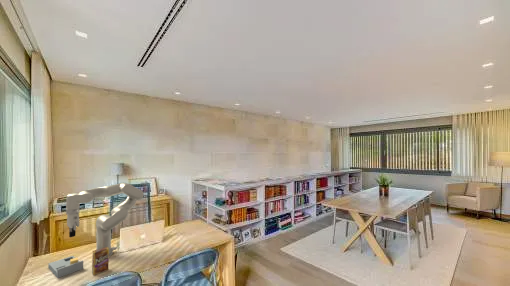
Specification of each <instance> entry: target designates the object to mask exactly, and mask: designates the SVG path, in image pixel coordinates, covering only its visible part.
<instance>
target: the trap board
mask: <svg viewBox="0 0 510 286" xmlns="http://www.w3.org/2000/svg"><path fill="white" fill-rule="evenodd" d="M73 258H76V257H75V256H74V255H70V256H67V257H64V258H61V259H58V260H55V261H52V262H49V263H47V265H48V266H47V267H48V268H47V269H49V271H51V272H52V274H53V275H54V276H55V277H56V279H59V278H61V277H64V276H67V275H70V274H72V273H76V272H78V271H80V270H84V260H79V259H78V262H77V263H74V264H71V265H70V259H73Z"/></svg>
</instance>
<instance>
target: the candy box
mask: <svg viewBox="0 0 510 286" xmlns="http://www.w3.org/2000/svg"><path fill="white" fill-rule="evenodd" d="M109 259H110V256H109V248H108V247H105V248H102V249H98V250H92V260H91V261H92V262H91V263H92V264H91V274H92V275H93V276H95V275H97V274H100V273H103V272H107V271H109V262H110V261H109Z"/></svg>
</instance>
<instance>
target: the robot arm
mask: <svg viewBox="0 0 510 286" xmlns="http://www.w3.org/2000/svg"><path fill="white" fill-rule="evenodd" d="M120 194H123V195H126V196H127V197H126V199H125V200H124V201H123V202H121V203H120V204H118V205H117V206H114V208H112V209H111V211H110V215H108V214H101V215H99V216H98V217H97V219H96V221H95V227H96V228H95V229H96V242H95V243H96V248H95V249H96V250H98V249H102V248H105V247H108V248H109V257H112V255H113V254H114V251H116V250H118V246H112V229H114V228H115V227H117V226H118V225H120V224H121V223H122V222H124V221H125V220H126V219H127V218H128V216H129V211H130V210H131V209H133V207H134V206H135V205H136V202H137V201H139V200H142V199H143V198H144V192H143V190H141V189H139V188H138V187H135V186H134V185H133V184H130V183H127V182H120V183H117V184H116V183H115V184H111V185H107V186H102V187H96V188H90V189H86V190H82V191H80V192H78V193H69V194H67V195H66V198H65V199H66V200H65V201H66V203H65V204H66V206H65V214H66V215H67V216H66V225H67V227H68V229H69V231H68V232H69V233H68V234H69V235H68V237H69V238H73V237H76V231H77V227H78V228H79V227H80V214H79V213H80V204H87V203H90V202H92V201H93V199H95V198H110V197H113V196H118V195H120Z"/></svg>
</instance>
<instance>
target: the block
mask: <svg viewBox="0 0 510 286" xmlns="http://www.w3.org/2000/svg"><path fill="white" fill-rule="evenodd" d="M78 260H79V258H78V257H75V258H73V259H70V265H71V264H74V263H77V262H78Z"/></svg>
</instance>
